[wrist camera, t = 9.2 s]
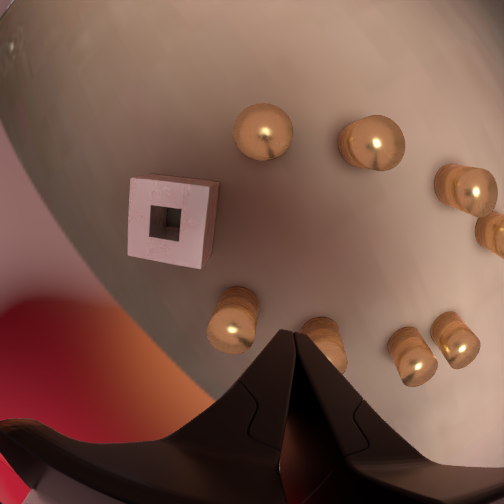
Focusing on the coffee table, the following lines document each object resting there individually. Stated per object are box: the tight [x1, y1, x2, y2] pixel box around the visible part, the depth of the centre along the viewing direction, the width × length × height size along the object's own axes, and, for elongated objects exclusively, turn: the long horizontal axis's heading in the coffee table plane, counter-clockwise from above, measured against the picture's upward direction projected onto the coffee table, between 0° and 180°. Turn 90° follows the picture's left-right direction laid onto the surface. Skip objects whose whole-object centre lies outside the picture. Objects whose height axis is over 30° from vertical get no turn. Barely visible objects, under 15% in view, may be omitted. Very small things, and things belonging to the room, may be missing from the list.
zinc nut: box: [128, 174, 220, 269], centre depth 19 cm, size 5×5×3 cm
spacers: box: [207, 104, 504, 387], centre depth 18 cm, size 17×22×4 cm
